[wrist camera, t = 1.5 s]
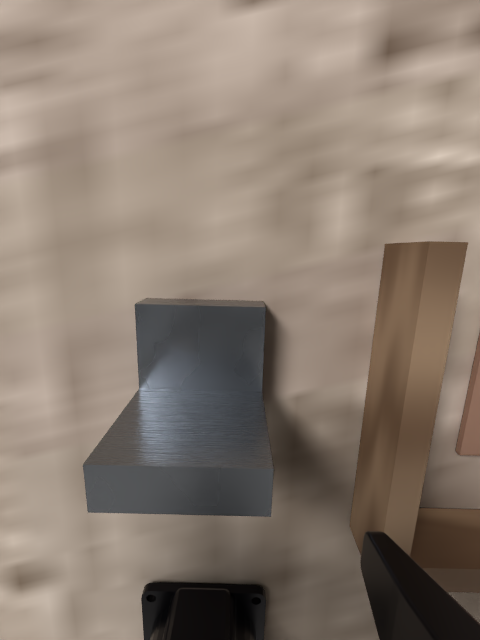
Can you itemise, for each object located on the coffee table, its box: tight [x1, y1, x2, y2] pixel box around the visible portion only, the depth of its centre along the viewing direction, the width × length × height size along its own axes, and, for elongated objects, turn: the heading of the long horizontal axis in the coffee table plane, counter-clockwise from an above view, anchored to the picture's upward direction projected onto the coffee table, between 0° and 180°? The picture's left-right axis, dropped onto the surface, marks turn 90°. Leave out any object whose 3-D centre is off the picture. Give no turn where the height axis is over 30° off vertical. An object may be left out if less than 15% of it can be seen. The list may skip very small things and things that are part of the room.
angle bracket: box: [83, 298, 274, 517], centre depth 11 cm, size 5×5×6 cm
